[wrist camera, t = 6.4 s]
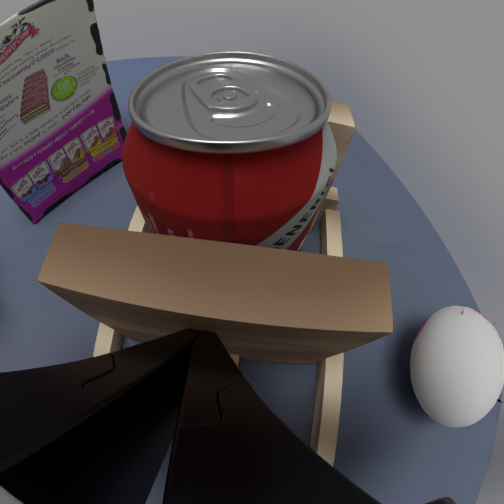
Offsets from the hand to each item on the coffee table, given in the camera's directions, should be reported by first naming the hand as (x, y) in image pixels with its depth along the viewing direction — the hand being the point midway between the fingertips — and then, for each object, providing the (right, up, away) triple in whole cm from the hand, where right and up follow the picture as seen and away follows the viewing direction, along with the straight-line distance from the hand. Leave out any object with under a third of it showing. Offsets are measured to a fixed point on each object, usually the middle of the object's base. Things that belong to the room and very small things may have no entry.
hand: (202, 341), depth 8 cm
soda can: (0, +2, +9) cm, 9 cm away
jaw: (-1, -5, +5) cm, 7 cm away
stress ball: (+14, -5, +6) cm, 16 cm away
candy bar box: (-15, +10, +12) cm, 21 cm away
